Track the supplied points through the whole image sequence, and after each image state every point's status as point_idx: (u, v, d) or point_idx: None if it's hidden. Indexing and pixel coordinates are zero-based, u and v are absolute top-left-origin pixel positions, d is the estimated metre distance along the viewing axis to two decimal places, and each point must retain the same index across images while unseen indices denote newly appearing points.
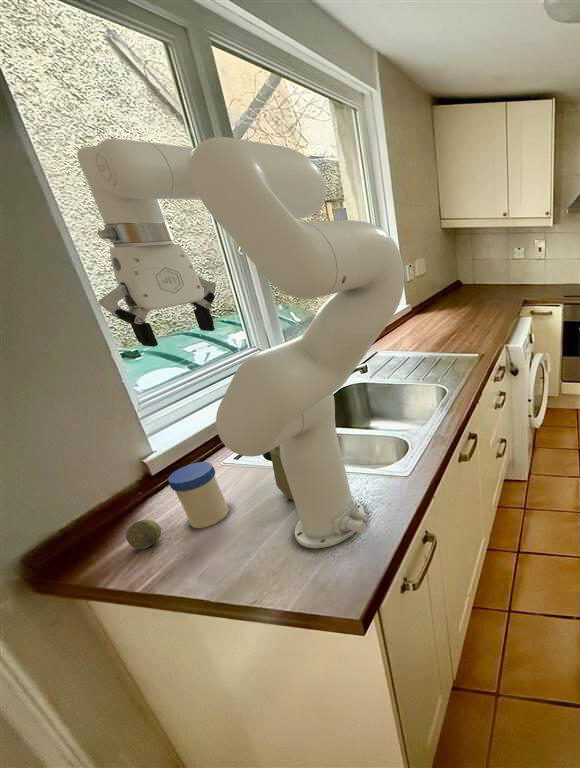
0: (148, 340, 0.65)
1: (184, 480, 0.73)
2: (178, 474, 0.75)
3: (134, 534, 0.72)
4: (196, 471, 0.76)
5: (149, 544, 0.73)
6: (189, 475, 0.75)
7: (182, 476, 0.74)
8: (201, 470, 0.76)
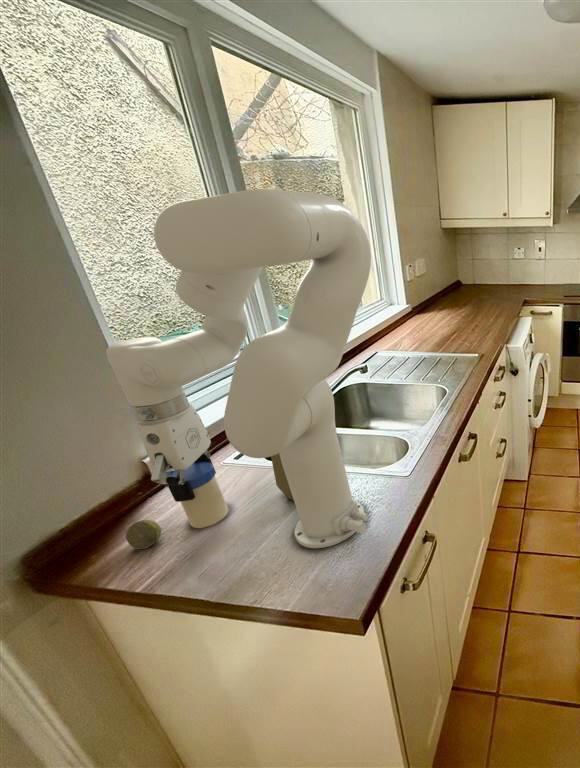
0: (187, 495, 0.73)
1: None
2: None
3: (134, 534, 0.72)
4: (196, 471, 0.76)
5: (149, 544, 0.73)
6: (189, 475, 0.75)
7: None
8: (201, 470, 0.76)
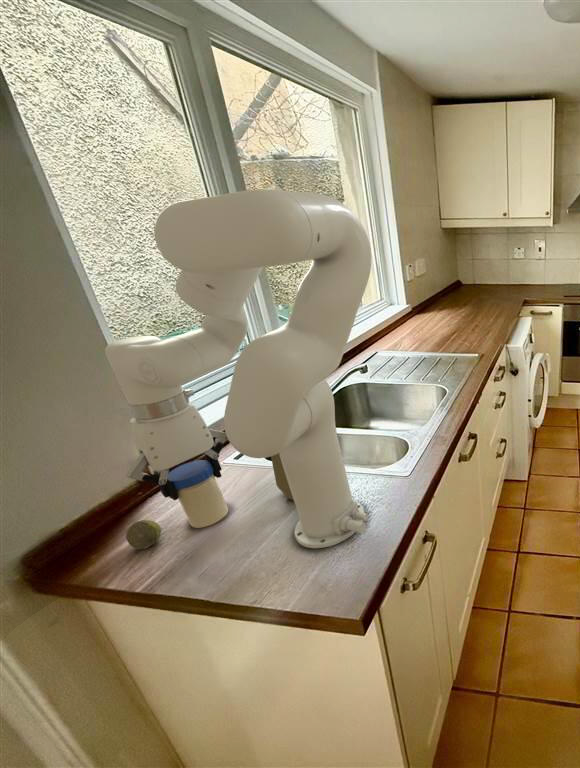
0: None
1: (203, 461, 0.78)
2: (195, 471, 0.75)
3: (134, 534, 0.72)
4: (186, 468, 0.76)
5: (149, 544, 0.73)
6: (194, 466, 0.77)
7: (197, 467, 0.76)
8: (183, 467, 0.76)
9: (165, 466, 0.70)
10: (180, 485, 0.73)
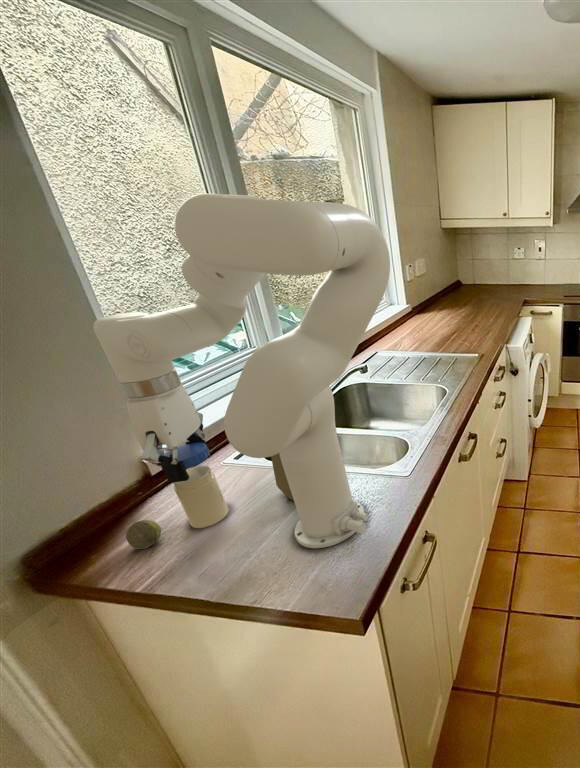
0: None
1: (189, 444, 0.76)
2: (195, 449, 0.74)
3: (134, 534, 0.72)
4: None
5: (149, 544, 0.73)
6: (185, 449, 0.75)
7: (191, 448, 0.75)
8: None
9: (177, 443, 0.70)
10: (190, 463, 0.72)
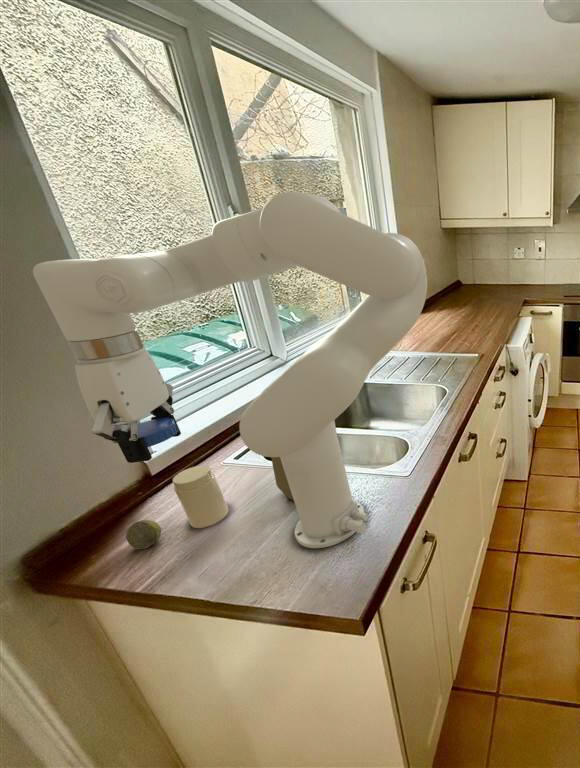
0: None
1: (155, 420, 0.66)
2: (161, 425, 0.64)
3: (134, 534, 0.72)
4: (139, 428, 0.64)
5: (149, 544, 0.73)
6: (148, 424, 0.65)
7: (156, 423, 0.65)
8: None
9: (136, 416, 0.59)
10: (153, 440, 0.62)
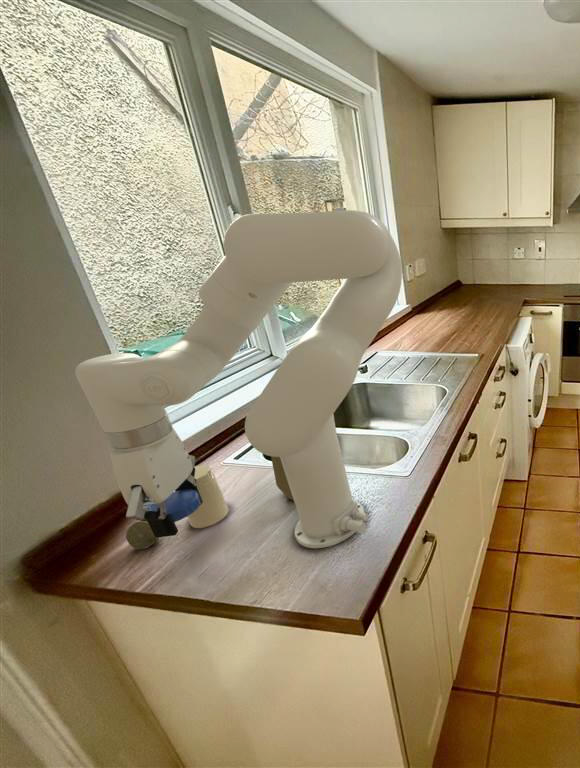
0: None
1: (179, 492, 0.70)
2: (186, 499, 0.68)
3: (134, 534, 0.72)
4: (166, 502, 0.67)
5: (149, 544, 0.73)
6: (174, 497, 0.68)
7: (181, 496, 0.68)
8: None
9: (165, 496, 0.63)
10: (179, 515, 0.66)
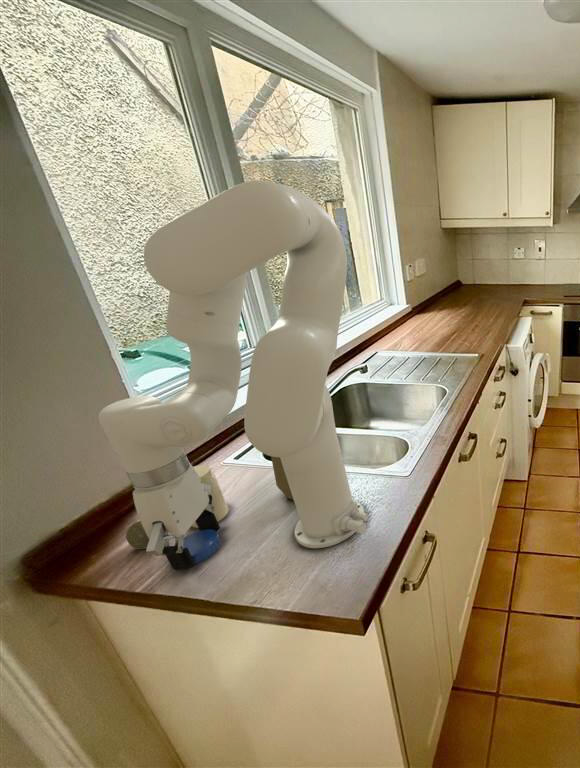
0: None
1: (200, 532, 0.73)
2: (207, 539, 0.72)
3: (134, 534, 0.72)
4: (188, 543, 0.71)
5: None
6: (195, 538, 0.72)
7: (202, 537, 0.72)
8: None
9: (185, 529, 0.66)
10: (202, 556, 0.69)
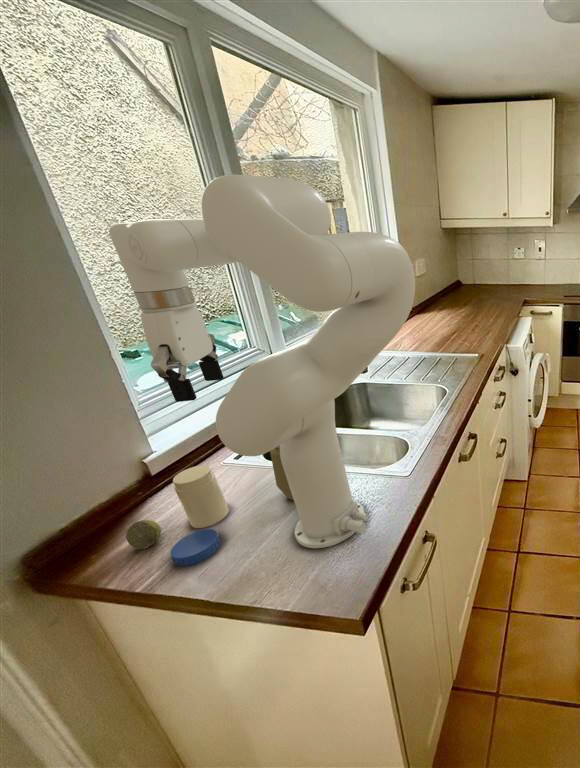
0: None
1: (200, 532, 0.73)
2: (207, 539, 0.72)
3: (134, 534, 0.72)
4: (188, 543, 0.71)
5: (149, 544, 0.73)
6: (195, 538, 0.72)
7: (202, 537, 0.72)
8: (182, 544, 0.71)
9: (190, 361, 0.69)
10: (202, 556, 0.69)
